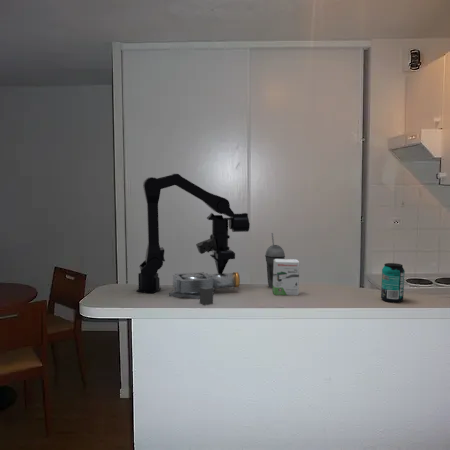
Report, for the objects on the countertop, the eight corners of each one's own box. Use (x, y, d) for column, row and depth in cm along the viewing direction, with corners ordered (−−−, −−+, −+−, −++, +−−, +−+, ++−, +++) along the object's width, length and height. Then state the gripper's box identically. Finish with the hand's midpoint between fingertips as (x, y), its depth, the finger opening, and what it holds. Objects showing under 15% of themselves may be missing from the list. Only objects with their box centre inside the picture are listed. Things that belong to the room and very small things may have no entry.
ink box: (274, 295, 171) (274, 261, 170) (272, 291, 176) (272, 258, 175) (299, 295, 171) (300, 261, 170) (296, 291, 176) (297, 258, 175)
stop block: (199, 303, 160) (199, 287, 160) (207, 301, 162) (207, 286, 161) (205, 304, 158) (205, 289, 157) (212, 303, 160) (212, 288, 159)
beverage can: (396, 297, 170) (398, 262, 168) (407, 302, 163) (409, 266, 161) (377, 298, 168) (378, 262, 167) (387, 303, 162) (388, 266, 160)
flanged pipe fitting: (177, 295, 165) (177, 279, 164) (171, 286, 177) (171, 271, 176) (242, 291, 171) (242, 275, 170) (232, 283, 183) (232, 269, 182)
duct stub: (169, 295, 169) (169, 278, 168) (183, 288, 180) (183, 271, 179) (201, 299, 165) (202, 281, 164) (214, 291, 176) (215, 274, 175)
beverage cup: (283, 289, 179) (284, 234, 177) (263, 288, 180) (264, 233, 178) (285, 285, 186) (286, 232, 184) (265, 284, 187) (266, 231, 185)
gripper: (192, 229, 186) (192, 270, 188) (204, 236, 168) (203, 281, 170) (221, 229, 189) (221, 269, 191) (235, 235, 171) (235, 279, 173)
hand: (219, 274), depth 181 cm, fingers closed
